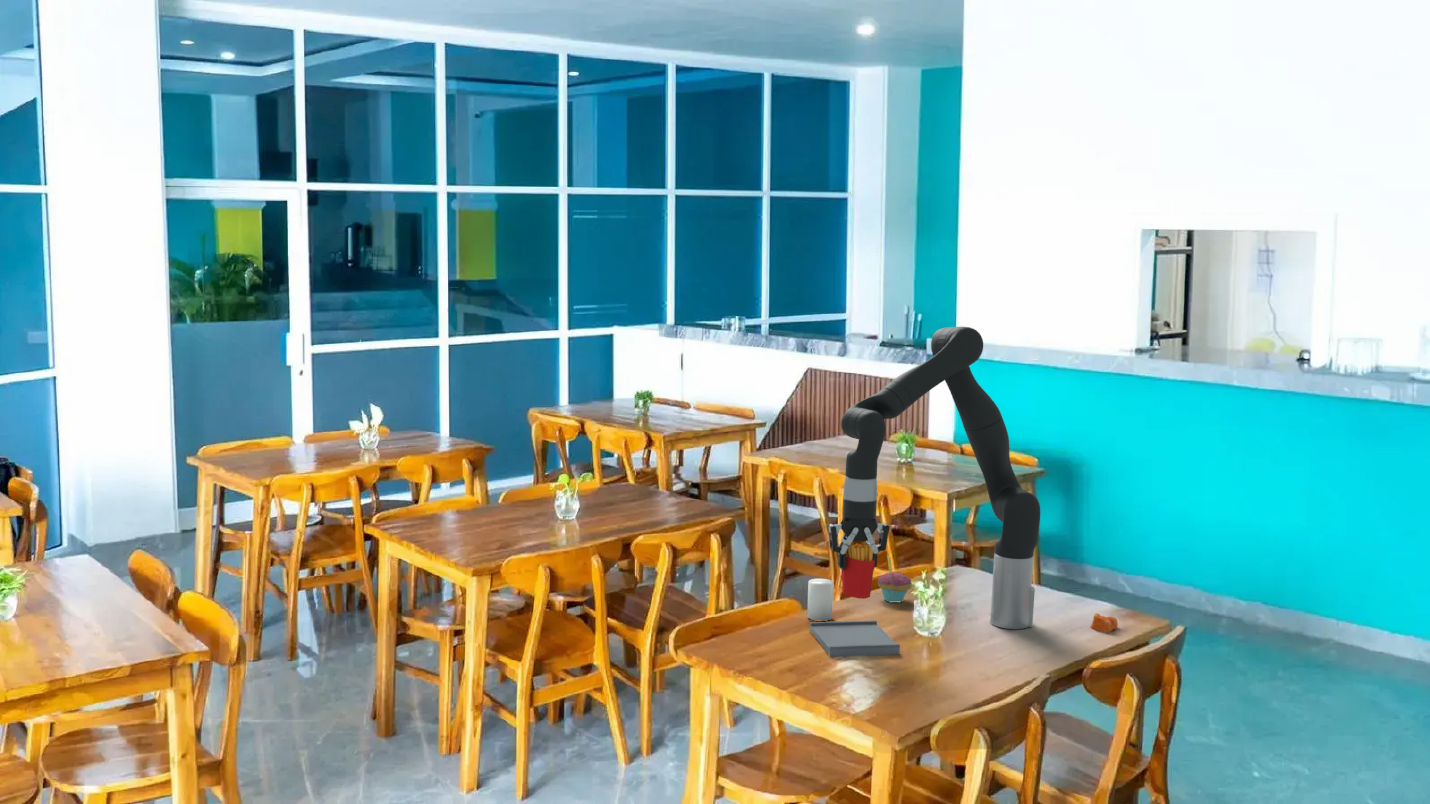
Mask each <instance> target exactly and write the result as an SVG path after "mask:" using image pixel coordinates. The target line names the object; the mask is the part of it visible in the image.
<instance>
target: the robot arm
mask: <svg viewBox="0 0 1430 804" xmlns="http://www.w3.org/2000/svg"><path fill="white" fill-rule="evenodd" d="M930 349H931V353H932V356H931V357H930V358H929V359H928V360H926V361H924V362H922V363H921V364H917V365H916V366H915V367H912V368H910V369H909V370H907V371H905V372H902V373H901V374H899V375H898V376H897V377H895V378H894V379H892V380H891V381H890V382H889V383H887V384H886V385H885V386H884V387H882V388H881V389H880V390H879V391H878V392H876V393H875V394H873V395H871V396H868V397H866V398H864V399H862V400H860V401H859V402H856V403H855V404H853V405H852V406H850V407H848V409H847V410H846V411H845V413H844V414H843V416H842V418H841V420H840V421H841V422H840V426H841V430H842V432H843V433H844V434H845V435H846V437H849V438H851V439H855V440H856V439H857V440H858V441H857V442H858V443H857V446H856V449H852V450H850V451H848V453H847V454H846V458H845V476H844V477H845V478H844V483H843V484H844V485H843V494H842V495H843V496H842V498H843V499H842V500H843V501H842V519H841V521H840V522H839V523H837V524H836V523H835V524H833V523H829V524H828V527H827V528H828V539H829V548H830V549H831V550H832V552H834V553H837V566H838V567H839V568H840V570H841V571H842V570H846V554H845V552H846V550H847V549H848V547H849V546H850V545H851V544H852V543H853V542H854V543H857V542H859V541H860V542H866V543H867V544H866V545H867V546H870V547H871V549H872V550H873V556H872V558H873V559H874V560H875V563H874V568H876V567H877V565H878V554H879V553H880V552H883V551H886V549H887V544H888V539H889V533H890V525H888V524H887V523H885V522H882V523H879V522H877V504H878V495H879V494H878V482H877V481H878V478H877V477H878V459H879V456H880V453H881V450H882V447H883V443H884V440H885V437H886V430H887V429H886V428H887V426H886V422H885V421H886V420H893V419H895V418H898V417H899V416H900V415H902V413H904V412H905V411H906V410H908V408H910V407H911V406H913V405H914V404H915V403H916V401H918V400H919V399H921V398H922V397H923V396H924V395H926V394H927V393H928V392H930V391H931V390H933V389H934V388H936V387H937V386H938V385H939V384H941V383H942V382H945V384H946V386H947V387H948V390H949V392H950V395H951V397H952V399H953V403H954V405H955V408H956V410H957V413H958V414H959V417H960V421H961V424H962V426H963V429H964V432H965V434H966V437H967V439H968V442H969V444H970V446H971V450H972V452H973V454H974V456H975V459H976V461H977V464H978V467H979V468H980V470H981V473H982V475H983V478H984V482H985V485H986V489H987V494H988V498H989V501H990V505H991V509H992V511H993V513H994V515H995V516H996V518H997V519H998V520H999V521H1001V522H1002V531H1001V537H1000V539H998V540H996V541H995V543H994V551H993V552H994V553H993V569H992V583H991V585H992V586H991V601H990V602H991V604H990V615H989V616H990V618H989V619H990V620H989V622H990V624H991V625H993V626H995V627H998V628H1000V629H1001V628H1003V629H1006V630H1007V629H1008V630H1009V629H1010V630H1019V629H1022V630H1023V629H1026V628H1030V627H1031V628H1032V627H1033V623H1034V607H1035V606H1034V605H1035V595H1036V594H1035V593H1036V591H1035V590H1036V589H1035V587H1034V586H1032V585H1033V584H1032V583H1033V572H1034V571H1033V569H1034V568H1033V567H1034V553H1035V550H1036V549H1035V548H1036V547H1037V545H1038V541H1039V534H1040V526H1041V525H1040V523H1041V505H1040V501H1039V499H1038V498H1037V497H1036V496H1035V494H1033V493H1031V492H1029V491H1027V490H1026V489H1023V488H1022V487H1021V484H1020V483H1019V480H1018V479H1017V476H1016V474H1015V472H1014V470H1013V466H1012V463H1011V458H1010V439H1009V437H1010V436H1009V433H1008V429H1007V427H1006V423H1005V421H1004V418H1003V416H1002V413H1001V411H1000V409H999V407H998V405H997V404H996V402H995V401H994V400H993V399H992V398H991V396H990V394H988V393H987V392H986V391H985V390H984V388H982V386H981V385H980V384H979V383H978V381H977V379H976V378H975V376H974V374H973V373H972V370H971V367H970V366H971V365H973V364H974V363H976V362H977V361H978V360H979V359H980V357H981V355H982V353H983V351H984V339H983V337H982V335H981V333H980V332H979V331H978V330H976V329H974V328H973V327H970V326H949V327H948V326H947V327H943V328H939V329H938V330H936V331H935V332H934V333H933V336H932V338H931V343H930ZM840 530H842V532H843V533H844V534H843V536H842V538H841V540H840V543H839V544H838V534H839V533H840ZM876 531H878V533H879V536H878V540H877V541H878V543H877V544H876V541H875V540H874V537H873V535H874V533H875V532H876Z"/></svg>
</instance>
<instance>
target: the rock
mask: <svg viewBox="0 0 1430 804" xmlns="http://www.w3.org/2000/svg"><path fill="white" fill-rule="evenodd" d="M1092 618H1093V619H1092V623H1091V624H1090V629H1091V630H1095V631H1098V632H1100V633H1101V632H1102V633H1108V634H1109V633H1111V632H1113V631H1114V630H1116V629H1118V626H1119V625H1118V624H1119V623H1118V619H1117V617H1113V616H1104V615H1101V614H1099V613H1098V612H1097V613H1096V612H1095V613H1094V615H1093V617H1092Z"/></svg>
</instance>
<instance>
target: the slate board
mask: <svg viewBox="0 0 1430 804" xmlns="http://www.w3.org/2000/svg"><path fill="white" fill-rule="evenodd" d="M809 632H810V634H811V635H812V634H813V635H814V636H815V637H814V636H813V635H812V636H813V637H814V639H815V640H816V639H817V640H818V641H817V640H816V641H817V642H818V643H819V644H821V645H822V646H823V647H822V646H821V645H820V646H821V647H822V648H823V649H825V650H826V651H825V650H824V651H825V652H826V653H827V652H828V653H827V654H829V655H830V656H829V655H828V656H829V657H831V656H832V657H857V656H858V657H860V656H863V657H865V656H883V655H884V656H887V655H888V656H890V655H891V656H892V654H893V655H900V651H901V644H900V643H896V642H895V641H894V639H892V637H890V636H889V635H888V633H886V632H885V631H884V630H883V629H882V627H881V626H880V625H879V624H878V621H877V620H875V619H874V620H872V619H871V620H846V621H845V620H841V621H826V622H816V621H811V622H809ZM832 657H831V658H832Z"/></svg>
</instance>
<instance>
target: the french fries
mask: <svg viewBox="0 0 1430 804" xmlns="http://www.w3.org/2000/svg"><path fill="white" fill-rule="evenodd" d="M845 554H846V570H841V583H842V584H841V585H842V586H841V587H842V594H843V595H844V596H846V597H852V598H855V599H860V600H862V599H863V600H864V599H865V600H866V599H868V598H871V593H872V585H873V576H874V571H875V567H874V563H875V560H874V559H873V558H872V556H873V550H872V549H871V547H870V546H868V544H864V545H863V544H861V543H858V542H855V543H853V544H852V543H851V545H850V546H849V547H848V549H847V550H846V552H845Z"/></svg>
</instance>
